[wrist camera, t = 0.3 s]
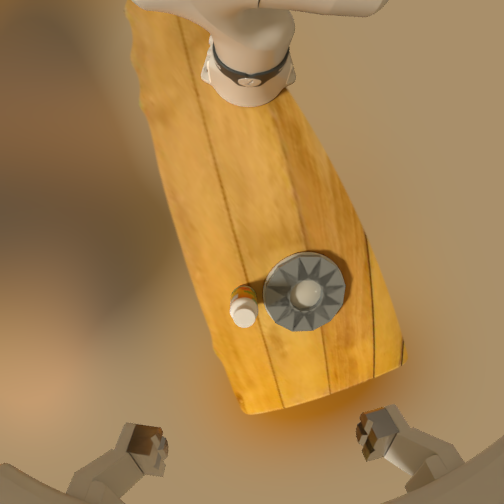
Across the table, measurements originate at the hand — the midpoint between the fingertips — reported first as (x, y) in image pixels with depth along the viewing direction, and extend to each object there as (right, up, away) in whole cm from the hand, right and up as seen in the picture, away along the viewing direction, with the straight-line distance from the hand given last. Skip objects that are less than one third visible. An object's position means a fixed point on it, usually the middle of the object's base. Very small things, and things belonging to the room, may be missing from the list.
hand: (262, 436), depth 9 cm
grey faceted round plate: (+11, -1, +49) cm, 50 cm away
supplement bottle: (-2, -2, +49) cm, 49 cm away
